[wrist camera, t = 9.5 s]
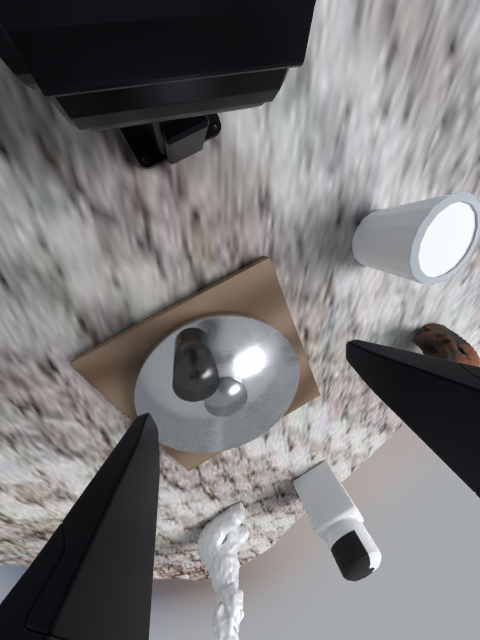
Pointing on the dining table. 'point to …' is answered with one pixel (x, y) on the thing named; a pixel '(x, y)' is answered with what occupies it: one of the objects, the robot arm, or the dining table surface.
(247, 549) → the dining table surface
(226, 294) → the walnut board
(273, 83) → the robot arm
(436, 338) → the pottery mug
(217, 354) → the handwheel
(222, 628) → the sitting furry creature
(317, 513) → the medicine bottle
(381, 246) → the shot glass
